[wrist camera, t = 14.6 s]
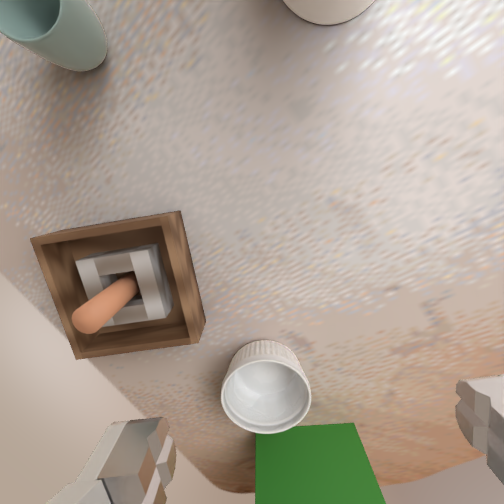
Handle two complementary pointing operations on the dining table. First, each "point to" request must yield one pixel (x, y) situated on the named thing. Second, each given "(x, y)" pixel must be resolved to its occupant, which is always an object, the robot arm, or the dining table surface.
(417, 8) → the dining table surface
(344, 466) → the hardback book
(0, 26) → the cup
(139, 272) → the box
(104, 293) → the peg
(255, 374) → the ramekin
